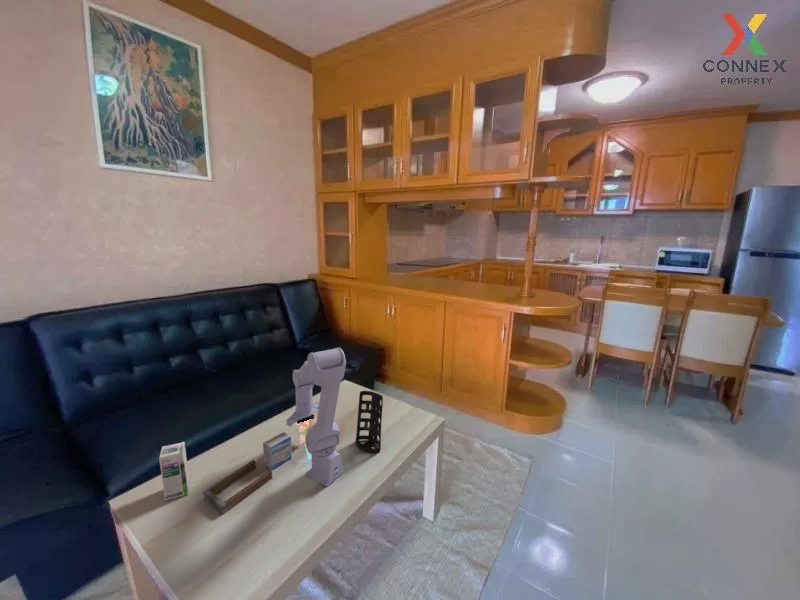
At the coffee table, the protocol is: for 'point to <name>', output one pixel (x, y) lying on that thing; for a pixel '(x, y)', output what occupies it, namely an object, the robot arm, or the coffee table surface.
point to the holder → (373, 420)
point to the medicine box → (277, 450)
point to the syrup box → (174, 470)
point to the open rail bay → (241, 495)
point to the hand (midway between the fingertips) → (304, 433)
